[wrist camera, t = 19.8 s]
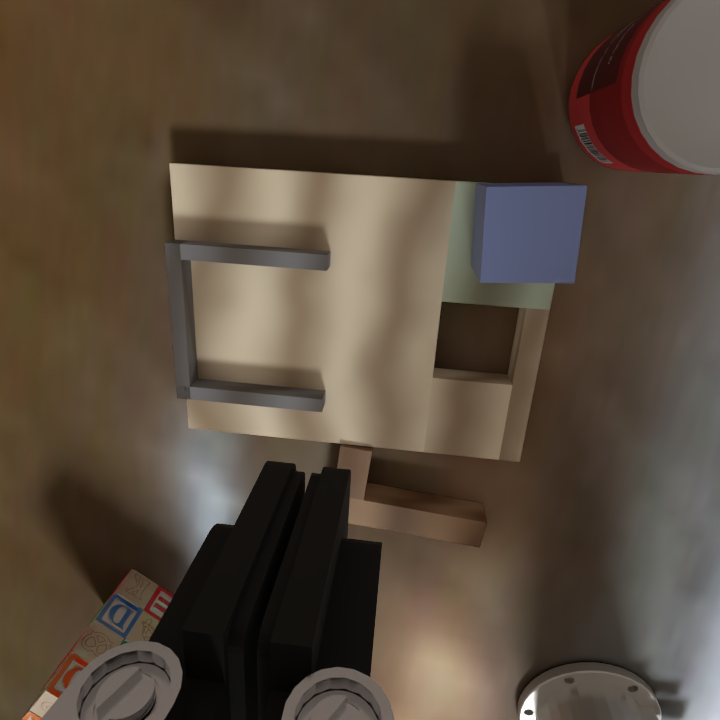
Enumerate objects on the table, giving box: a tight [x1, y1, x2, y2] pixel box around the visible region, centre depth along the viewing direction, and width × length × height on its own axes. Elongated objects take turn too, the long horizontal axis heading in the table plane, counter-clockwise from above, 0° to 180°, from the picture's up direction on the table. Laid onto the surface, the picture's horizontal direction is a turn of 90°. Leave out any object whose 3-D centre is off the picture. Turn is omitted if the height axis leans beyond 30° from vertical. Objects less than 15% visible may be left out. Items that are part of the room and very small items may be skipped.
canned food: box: [569, 0, 720, 175], centre depth 25 cm, size 8×8×11 cm
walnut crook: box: [337, 444, 487, 547], centre depth 40 cm, size 12×7×2 cm, turn 82°
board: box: [165, 163, 555, 462], centre depth 35 cm, size 25×19×4 cm
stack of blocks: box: [21, 569, 174, 720], centre depth 45 cm, size 21×6×12 cm, turn 52°
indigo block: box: [471, 182, 587, 283], centre depth 29 cm, size 5×5×5 cm
